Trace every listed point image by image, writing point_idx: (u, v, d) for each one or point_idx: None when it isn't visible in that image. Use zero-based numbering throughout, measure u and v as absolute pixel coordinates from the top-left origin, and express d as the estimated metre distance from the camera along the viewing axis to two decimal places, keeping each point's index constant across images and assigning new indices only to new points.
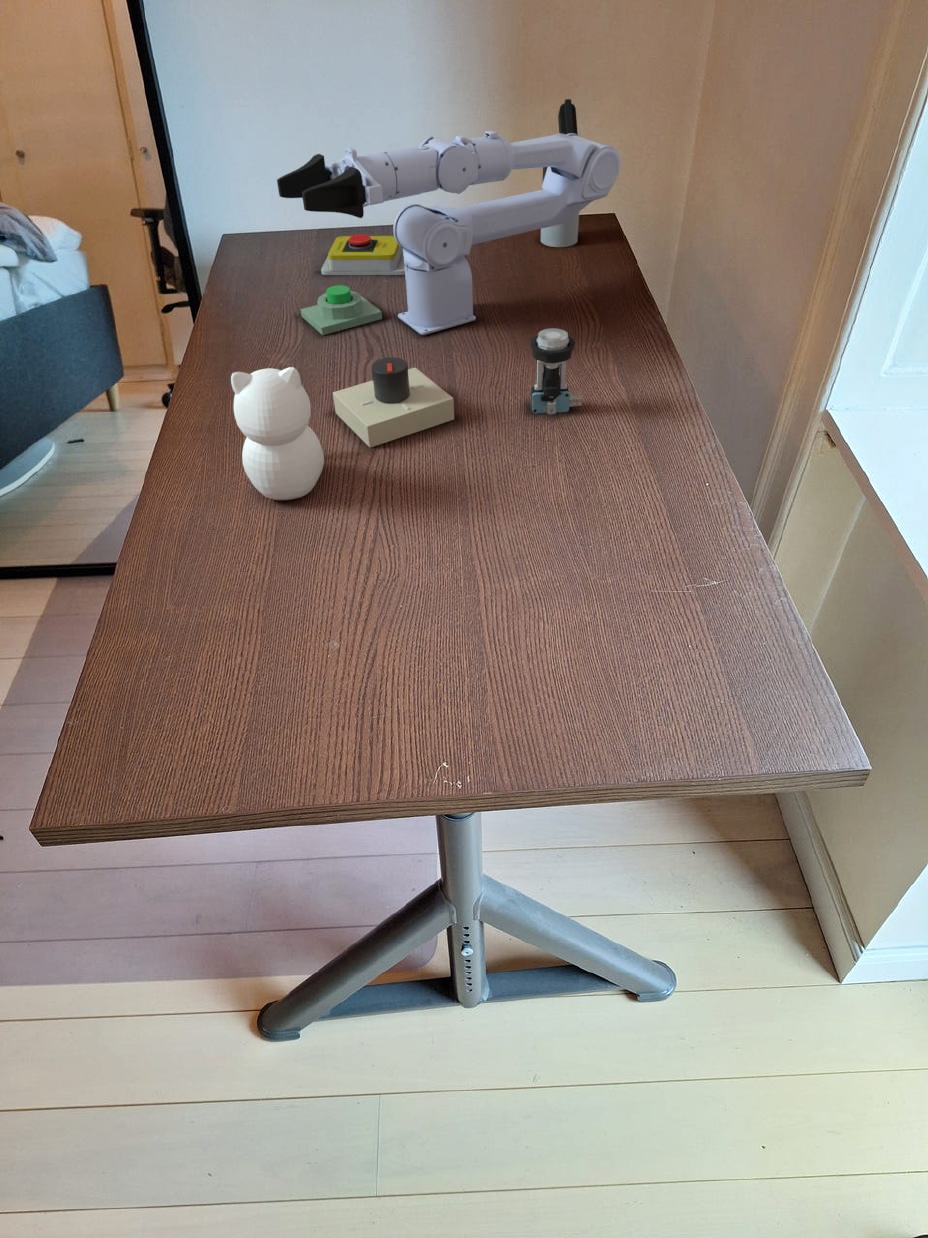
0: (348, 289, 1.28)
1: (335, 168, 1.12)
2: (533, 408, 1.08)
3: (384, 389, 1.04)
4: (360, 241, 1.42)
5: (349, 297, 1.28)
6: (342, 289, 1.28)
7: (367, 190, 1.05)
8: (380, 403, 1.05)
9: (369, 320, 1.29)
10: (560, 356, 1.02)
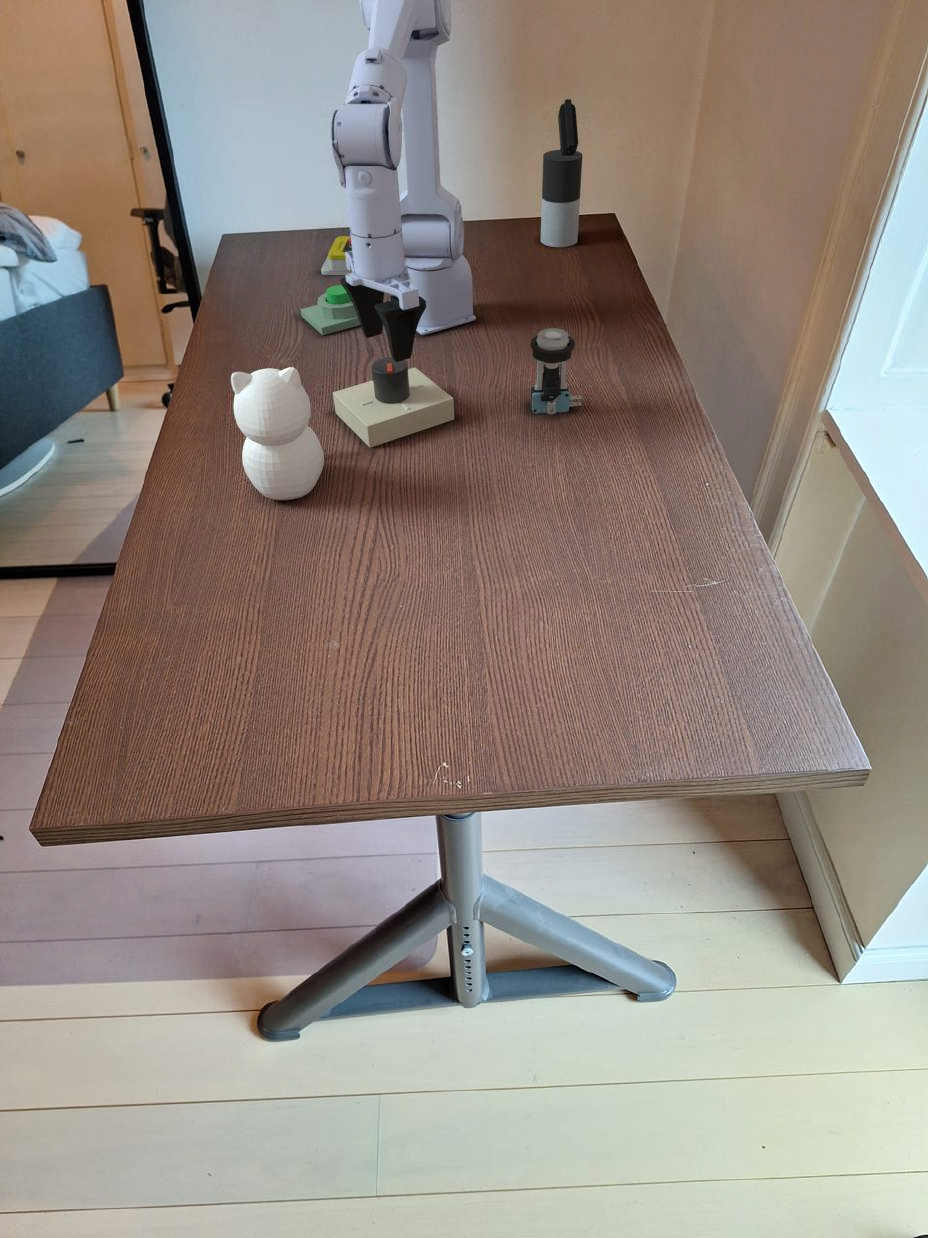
0: None
1: None
2: (533, 408, 1.08)
3: (384, 389, 1.04)
4: None
5: (349, 297, 1.28)
6: (342, 289, 1.28)
7: None
8: (380, 403, 1.05)
9: None
10: (560, 356, 1.02)
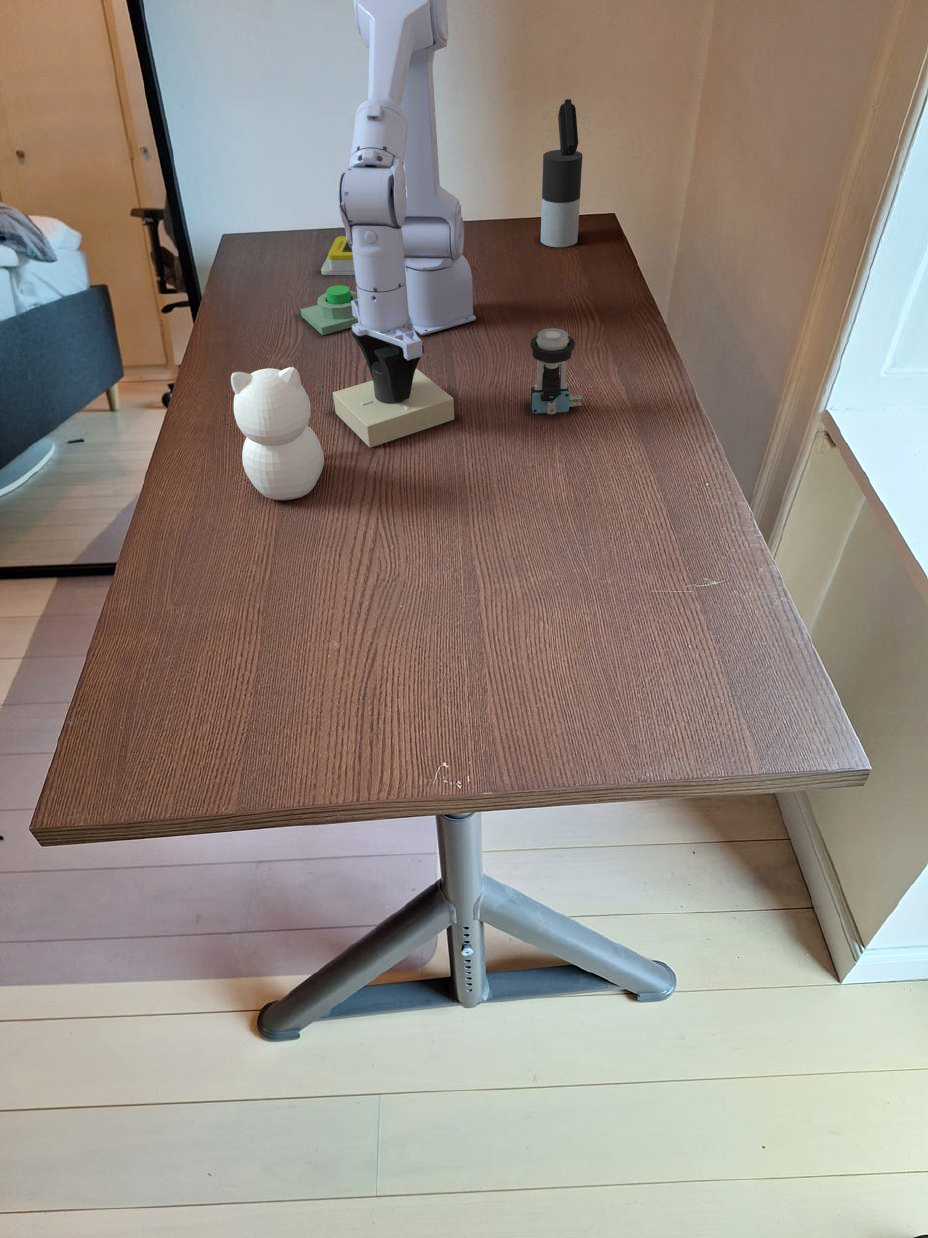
0: (348, 289, 1.28)
1: None
2: (533, 408, 1.08)
3: (384, 389, 1.04)
4: None
5: (349, 297, 1.28)
6: (342, 289, 1.28)
7: None
8: (380, 403, 1.05)
9: None
10: (560, 356, 1.02)
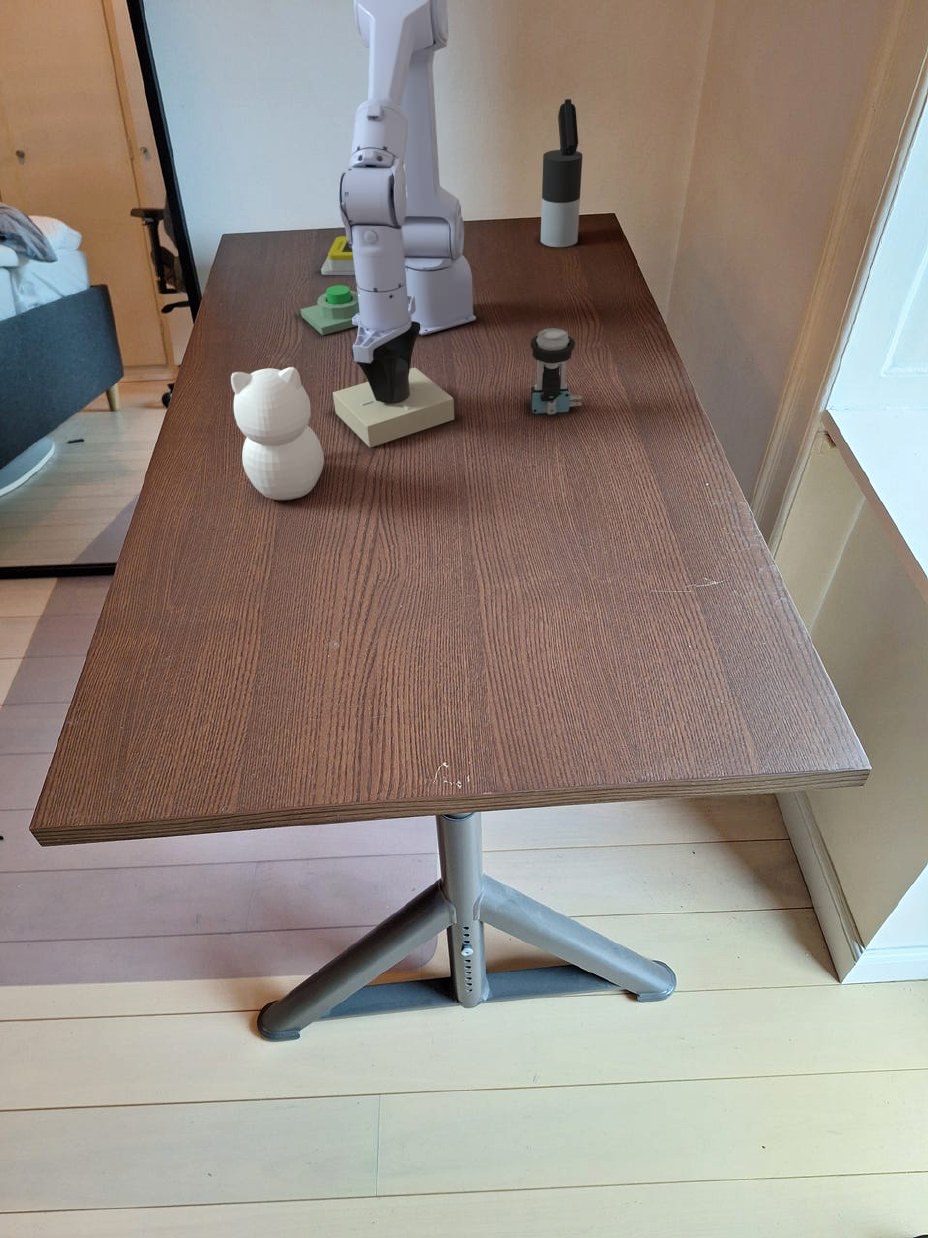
0: (348, 289, 1.28)
1: None
2: (533, 408, 1.08)
3: None
4: None
5: (349, 297, 1.28)
6: (342, 289, 1.28)
7: None
8: (380, 403, 1.05)
9: None
10: (560, 356, 1.02)
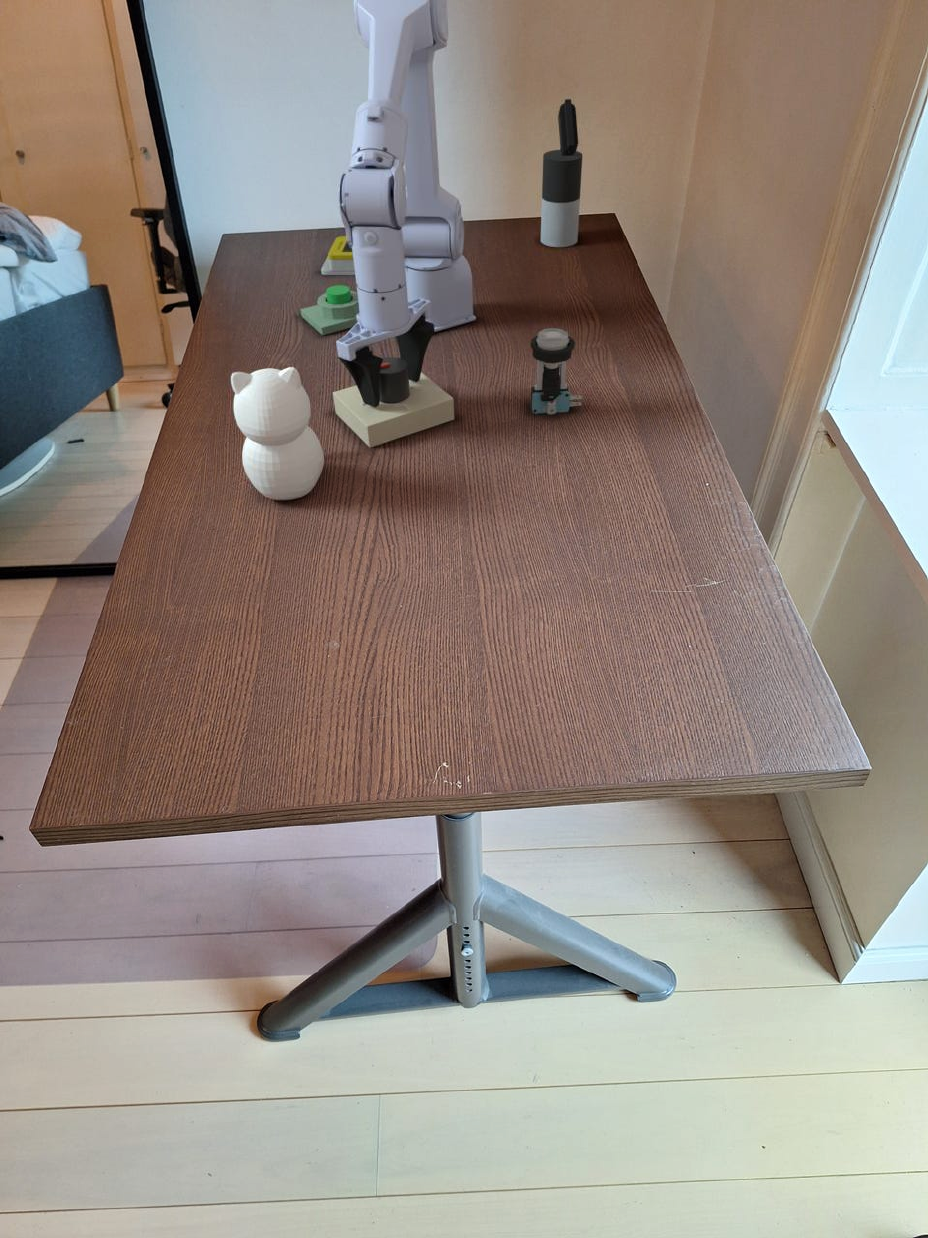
0: (348, 289, 1.28)
1: None
2: (533, 408, 1.08)
3: None
4: None
5: (349, 297, 1.28)
6: (342, 289, 1.28)
7: None
8: (380, 403, 1.05)
9: None
10: (560, 356, 1.02)
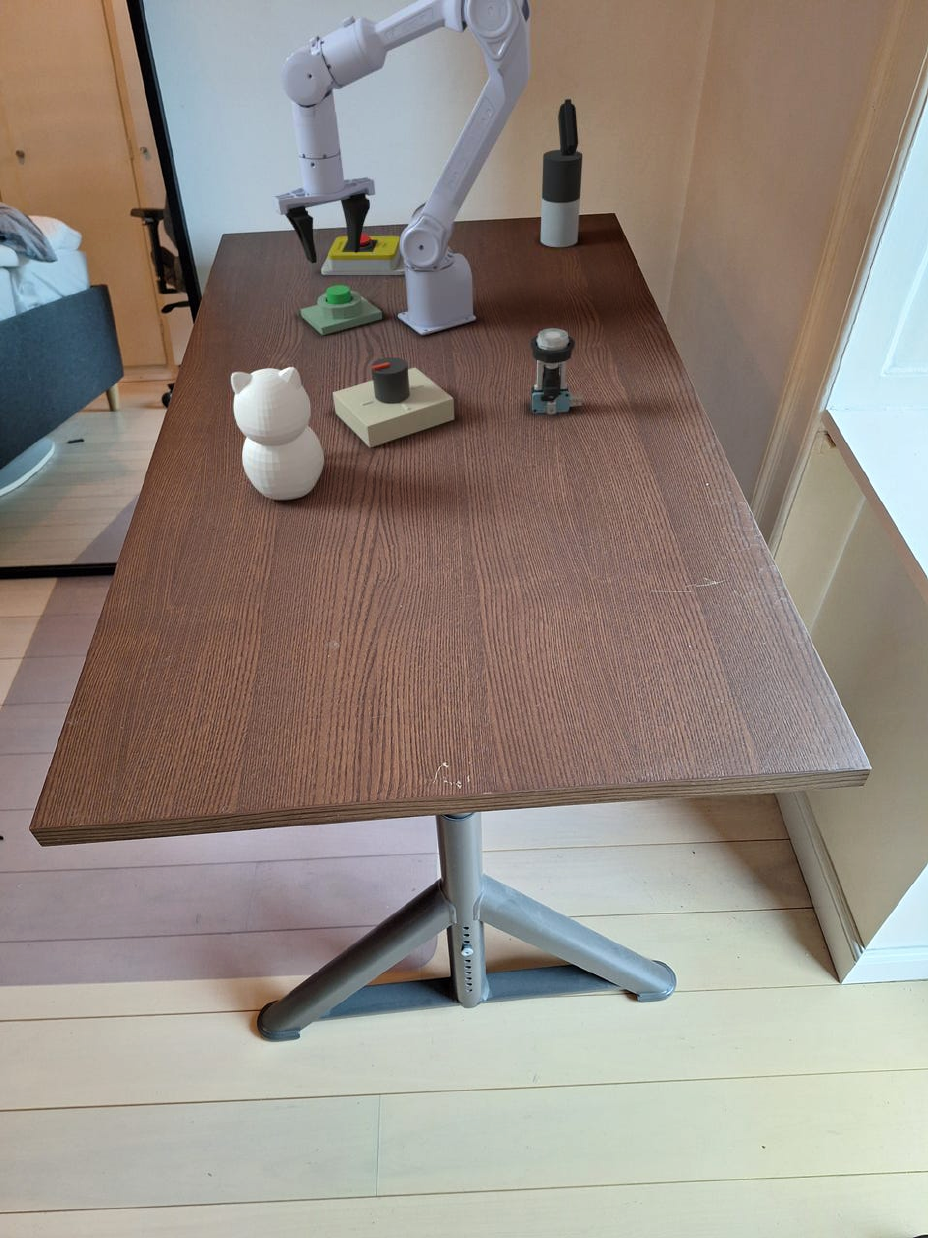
0: (348, 289, 1.28)
1: None
2: (533, 408, 1.08)
3: (373, 381, 1.05)
4: (360, 241, 1.42)
5: (349, 297, 1.28)
6: (342, 289, 1.28)
7: None
8: (380, 403, 1.05)
9: (369, 320, 1.29)
10: (560, 356, 1.02)
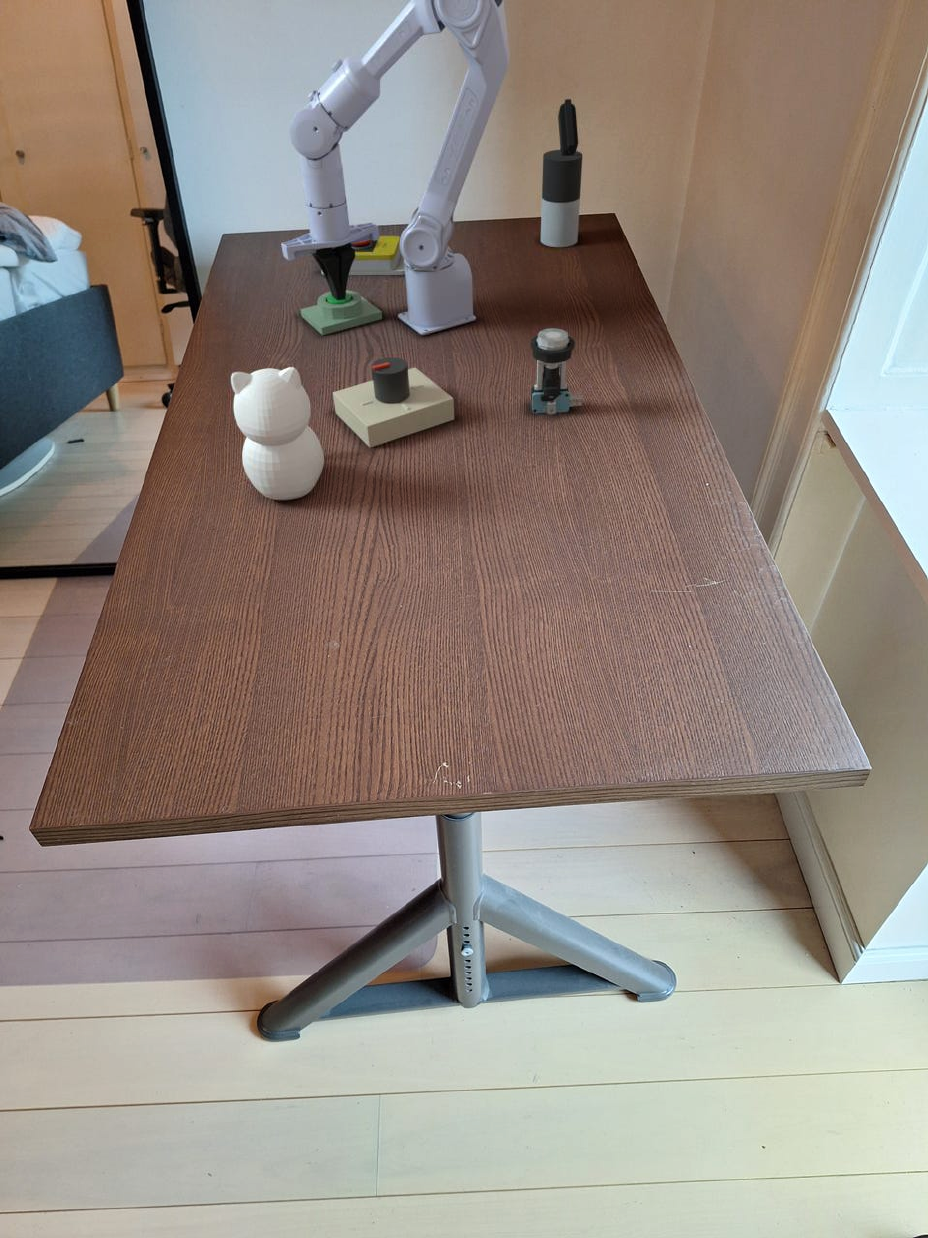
0: (349, 296, 1.29)
1: None
2: (533, 408, 1.08)
3: (373, 381, 1.05)
4: None
5: None
6: None
7: None
8: (380, 403, 1.05)
9: (369, 320, 1.29)
10: (560, 356, 1.02)
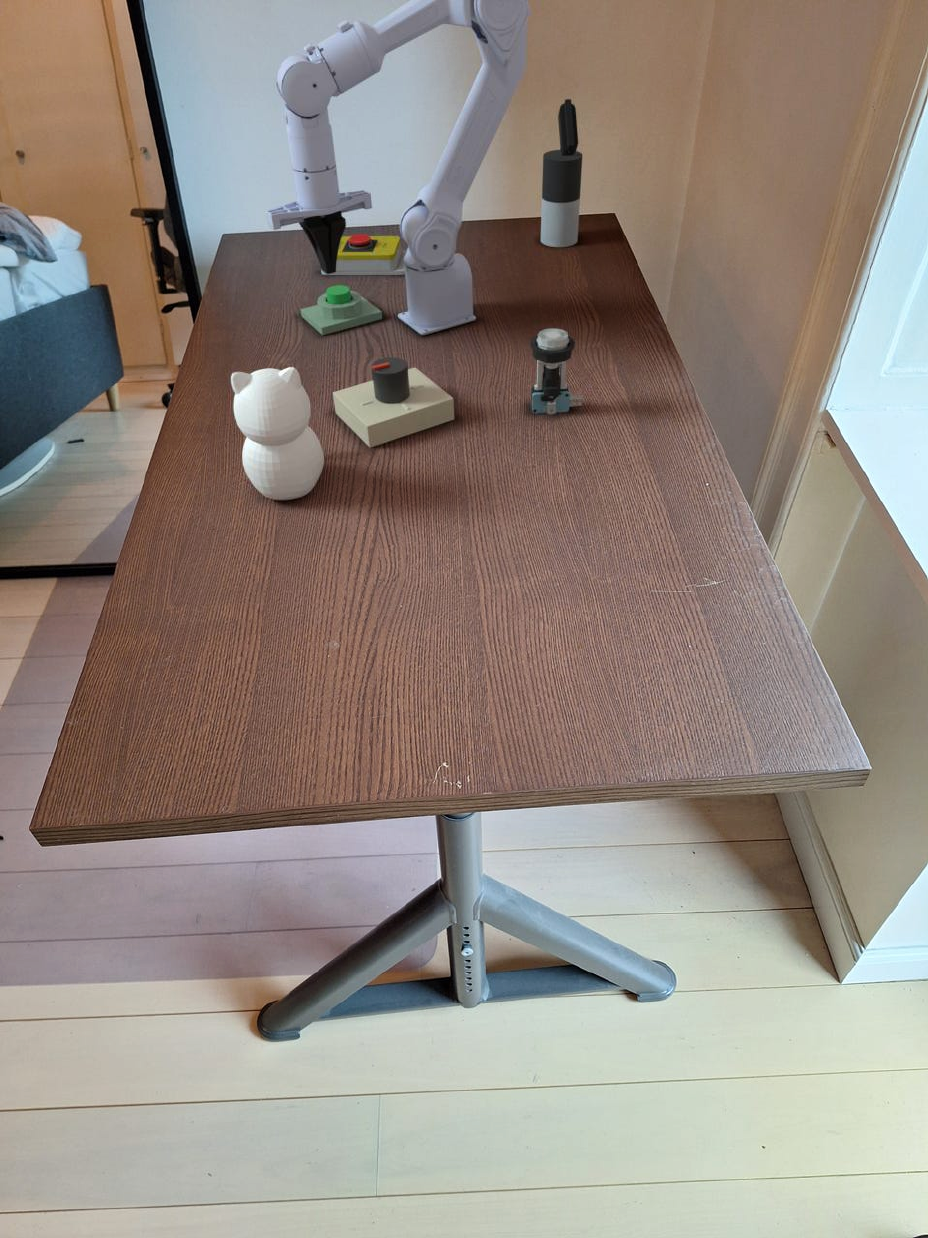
0: (348, 289, 1.28)
1: None
2: (533, 408, 1.08)
3: (373, 381, 1.05)
4: (360, 241, 1.42)
5: (349, 297, 1.28)
6: (342, 289, 1.28)
7: None
8: (380, 403, 1.05)
9: (369, 320, 1.29)
10: (560, 356, 1.02)
